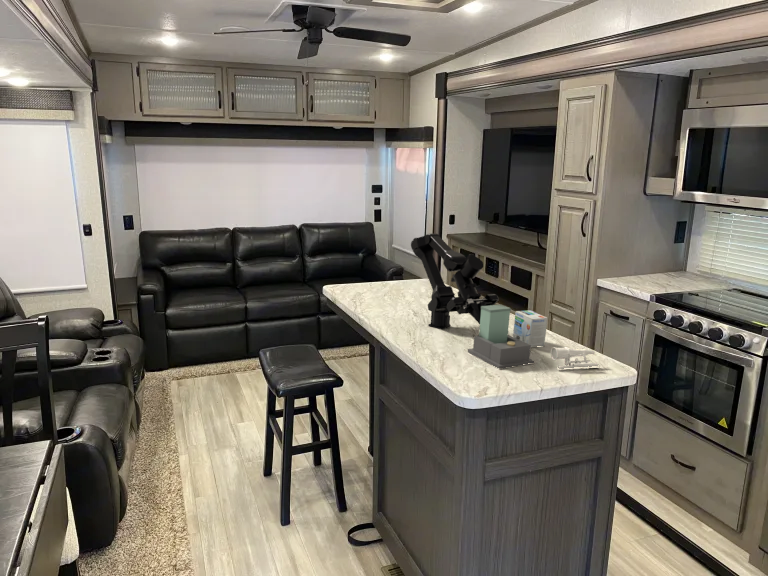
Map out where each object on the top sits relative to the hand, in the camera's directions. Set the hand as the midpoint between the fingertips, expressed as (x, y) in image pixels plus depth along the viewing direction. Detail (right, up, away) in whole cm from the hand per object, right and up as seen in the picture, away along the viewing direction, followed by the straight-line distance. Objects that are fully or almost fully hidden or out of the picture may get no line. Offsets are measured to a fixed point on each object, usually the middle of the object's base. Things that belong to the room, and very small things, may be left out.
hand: (481, 323), depth 196 cm
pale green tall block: (+3, -8, -4) cm, 10 cm away
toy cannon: (+27, -13, -14) cm, 33 cm away
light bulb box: (+18, -8, +9) cm, 22 cm away
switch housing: (+5, -11, -8) cm, 14 cm away
